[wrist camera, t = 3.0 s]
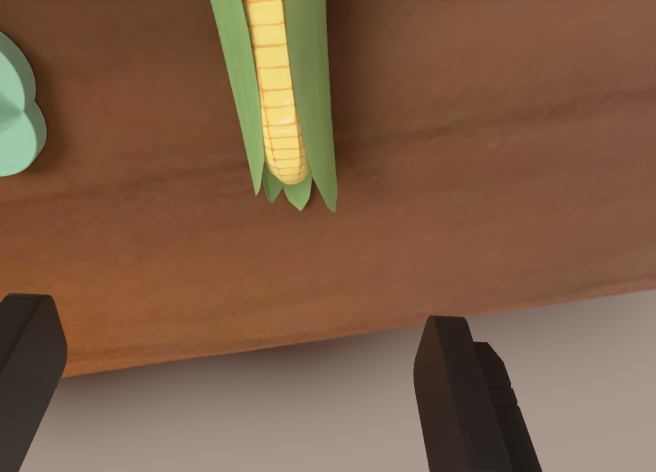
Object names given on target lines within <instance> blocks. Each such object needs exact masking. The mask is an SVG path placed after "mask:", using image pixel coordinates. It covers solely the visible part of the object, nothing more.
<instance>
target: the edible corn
mask: <svg viewBox="0 0 656 472" xmlns="http://www.w3.org/2000/svg"><path fill="white" fill-rule="evenodd" d="M210 1H211V5H212V8H213V12H214V16H215V20H216V24H217V28H218V32H219V36H220V40H221V45H222V49H223V53H224V57H225V62H226V66H227V70H228V74H229V79H230V83H231V87H232V91H233V96H234V100H235V104H236V108H237V113H238V117H239V121H240V126H241V130H242V135H243V140H244V144H245V149H246V153H247V158H248V162H249V167H250V171H251V176H252V180H253V185H254V189H255V194H256V195H257V194H258V192H259V190H260V184H261V177H262V182H263V186H264V191H265V195H266V199H267V200H268V201H270V202H271V203H273V201H274V200H275V198H276V197H277V195H278V194H279V192H280V190H281V189H282V187H283V189H284V192H285V194H286V196H287V198H288V200H289V201H290V202H291V203H292V204H293V205H294V206H295V207H296V208H298V209H299V210H300V211H301V210H302V209H303V207H304V206H305V204H306V203H307V201H308V200H309V197H310V191H311V184H312V177H313V179H314V181H315V183H316V185H317V187H318V189H319V191H320V193H321V195H322V197H323V199H324V201H325V203H326V205H327V207H328V208H329V209H330V210H331V211H333V212H334V213H335V209H336V202H337V195H338V193H337V180H336V167H335V153H334V140H333V127H332V114H331V96H330V78H329V59H328V41H327V19H326V0H210Z"/></svg>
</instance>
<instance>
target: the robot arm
mask: <svg viewBox="0 0 656 472" xmlns="http://www.w3.org/2000/svg"><path fill="white" fill-rule="evenodd" d="M66 360H67V342H66V339H65V335H64V332H63V329H62V325H61V322H60V319H59V316H58V312H57V309H56V306H55V302H54V300H53V298H52V297H51V296H50V295H41V294H21V293H10V294H8V295H7V296H6V297H5V298H4V299H3V300H2V302H1V303H0V472H19V469H20V467H21V465H22V463H23V461H24V458H25V456H26V454H27V451H28V449H29V447H30V445H31V442H32V441H33V438H34V436H35V434H36V432H37V429H38V427H39V425H40V423H41V420H42V418H43V416H44V414H45V411H46V409H47V407H48V405H49V403H50V400H51V398H52V395H53V394H54V391H55V389H56V387H57V385H58V382H59V380H60V378H61V376H62V373H63V371H64V368H65V364H66ZM414 387H415V393H416V399H417V404H418V410H419V415H420V420H421V426H422V431H423V437H424V443H425V448H426V454H427V459H428V465H429V470H430V472H542V470H541V467H540V464H539V461H538V458H537V455H536V453H535V450H534V447H533V444H532V441H531V438H530V436H529V433H528V430H527V427H526V424H525V422H524V419H523V416H522V413H521V410H520V408H519V406H517V399H516V396H515V394H514V391H513V388H511V382H510V379H509V376H508V374H507V371H506V368H505V365H504V362H503V361H502V360H501V358H500V357H499V356H498V355H497V353H496V352H495V351H494V350H493V349H492V347H491V346H490V345H489V344H488V343H487V342H473V339H472V336H471V333H470V329H469V326H468V323H467V321H466V319H465V318H464V317H452V316H432V315H430V316H429V317H428V319H427V321H426V325H425V328H424V331H423V335H422V338H421V341H420V344H419V348H418V351H417V354H416V357H415V363H414Z"/></svg>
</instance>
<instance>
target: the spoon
mask: <svg viewBox="0 0 656 472" xmlns="http://www.w3.org/2000/svg"><path fill="white" fill-rule="evenodd" d="M35 95H36V83H35V77H34V74H33V71H32V68H31V66H30V64H29V62H28V60H27V59H26V57H25V56H24V54H23V53H22V51H21V50H20V49H19V48H18V47H17V46H16V44H15V43H14V42H13V41H12V40H11V39H9V38H8V37H7V36H6V35H5V34H3V33H2V32H1V31H0V176H9V175H13V174H16V173H19V172H21V171H23V170H24V169H26V168H27V167H28V166H29V165H30V164H31V163H32V162H33V161H34V159H35V158H36V157H37V156H38V154H39V153H40V152H41V150H42V149H43V147H44V145H45V142H46V137H47V128H46V123H45V119H44V116H43V114H42V112H41V110H40V108H39V107H38V105H37V103H36V102H35V101H34V100H35Z"/></svg>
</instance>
